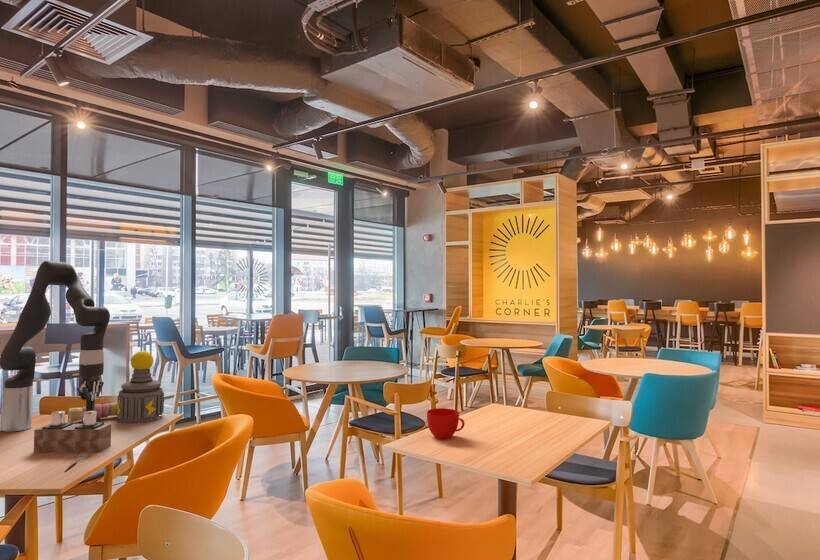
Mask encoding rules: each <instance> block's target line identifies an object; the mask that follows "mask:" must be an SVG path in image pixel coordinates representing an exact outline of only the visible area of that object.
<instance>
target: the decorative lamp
mask: <svg viewBox="0 0 820 560" xmlns="http://www.w3.org/2000/svg"><path fill="white" fill-rule="evenodd" d="M153 364H154V357H153V355H152V354H151V353H150V352H149V351H146V350H141V351H136V352H134V354H133V355H132V356H131V358H130V365H131V368H132V369H133V371H132V374H131V378H130V381H126V382H124V383H122V384H121V390H119V391H118V395H117V397H116V398H117V399H116V400H117V401H116V402H117V405H116V407H117V416H116V417H117V420H118V421H119V422H121V423H124V422H127V423H128V424H138V422H140V423H147V421H148V422H151V420H153V421H156V420H159V419H161V418H162V417H163V414H164V409H165V408H164V405H165V401H166V400H165V392H164V389H163V387H161V386H162V383H161V381H158V380H156V379H153V377H152V373H151V368H152V367H153ZM159 415H162V416H159ZM160 417H161V418H160ZM158 418H159V419H158ZM155 419H156V420H155Z"/></svg>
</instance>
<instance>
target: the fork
mask: <svg viewBox="0 0 820 560" xmlns="http://www.w3.org/2000/svg"><path fill="white" fill-rule="evenodd" d="M87 457H88V453H86V452H85V453H79V455H78V457H77V459H78V460H76V461H75V462H74V463H72V464H70V465H69V466H68V467H67V468H65V470H64V473H66V472H68V471H70V470H71V469H72V468H74V467H76V465H77V464H78V463H79V462H80V460H87Z"/></svg>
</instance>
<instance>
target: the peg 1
mask: <svg viewBox="0 0 820 560" xmlns="http://www.w3.org/2000/svg"><path fill="white" fill-rule="evenodd" d="M50 418H51V422H50V424H51V427H61V426H63V425H65V423H66V411H65V410H58V411H53V412H51V417H50Z"/></svg>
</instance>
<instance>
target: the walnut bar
mask: <svg viewBox="0 0 820 560" xmlns="http://www.w3.org/2000/svg"><path fill="white" fill-rule="evenodd" d="M33 433H34V434H33V453H34V452H41V454H43V453H44V454H45V453H46V452H72V453H73V454H74V453H75V452H76V453H78V454H80V453H81V454H87V453H89V454H90V453H91V454H92V453H93V452H94V453H97V452H98V453H101V452H102V451H104V450H106V449H108V448H109V447H111V445H112V444H111V443H112V423H105V422H96V425H95V426H93V427H83V423H74V422H71V423H68V422H65V425H63V426H61V427H51V423H47V424H45V425H43V426H40V427H38V428H35V429H34V432H33ZM85 452H86V453H85ZM46 454H47V453H46Z"/></svg>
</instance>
